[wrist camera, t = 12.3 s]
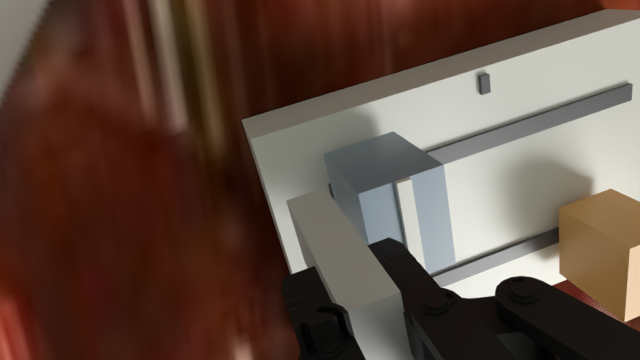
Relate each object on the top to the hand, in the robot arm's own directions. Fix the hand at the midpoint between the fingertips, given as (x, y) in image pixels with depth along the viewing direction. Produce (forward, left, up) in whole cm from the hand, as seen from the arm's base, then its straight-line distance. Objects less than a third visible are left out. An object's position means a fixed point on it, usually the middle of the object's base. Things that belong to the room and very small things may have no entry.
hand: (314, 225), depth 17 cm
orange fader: (+13, -7, -2) cm, 15 cm away
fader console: (+8, -3, -5) cm, 10 cm away
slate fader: (+3, 0, -2) cm, 3 cm away
